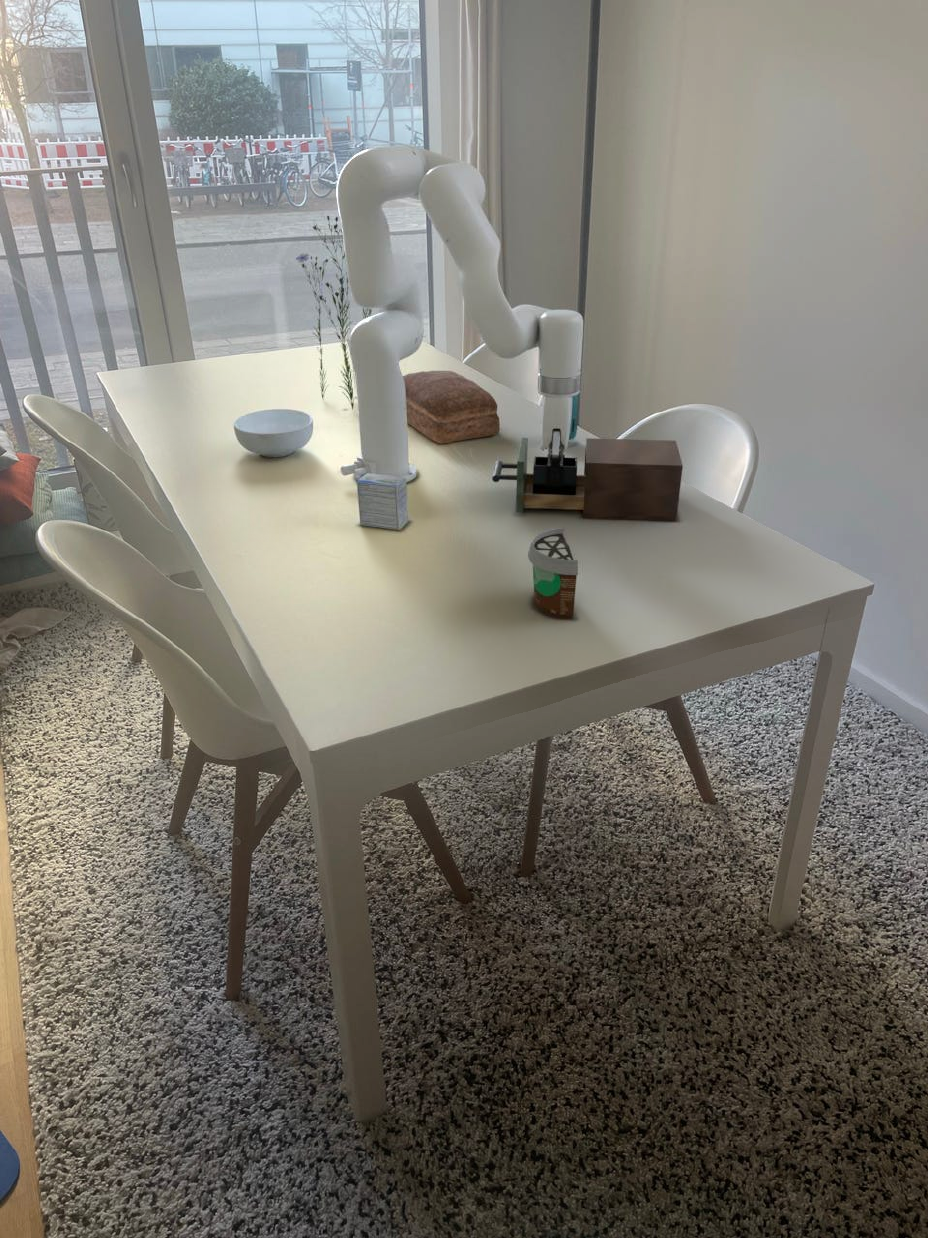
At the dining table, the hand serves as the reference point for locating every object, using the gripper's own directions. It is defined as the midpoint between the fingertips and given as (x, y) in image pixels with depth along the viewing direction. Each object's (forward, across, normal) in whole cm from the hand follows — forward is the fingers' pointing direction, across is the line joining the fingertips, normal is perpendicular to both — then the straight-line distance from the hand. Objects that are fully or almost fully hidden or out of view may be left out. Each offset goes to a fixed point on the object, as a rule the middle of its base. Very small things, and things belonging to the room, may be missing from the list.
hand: (554, 479), depth 170 cm
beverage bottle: (+5, -35, +1) cm, 36 cm away
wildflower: (+5, -62, -52) cm, 81 cm away
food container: (+5, +40, 0) cm, 41 cm away
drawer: (+4, 0, -1) cm, 4 cm away
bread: (+5, -47, -28) cm, 54 cm away
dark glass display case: (+3, 0, 0) cm, 3 cm away
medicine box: (+5, +13, -30) cm, 33 cm away
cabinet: (+5, 0, +14) cm, 14 cm away
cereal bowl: (+5, -24, -62) cm, 66 cm away
